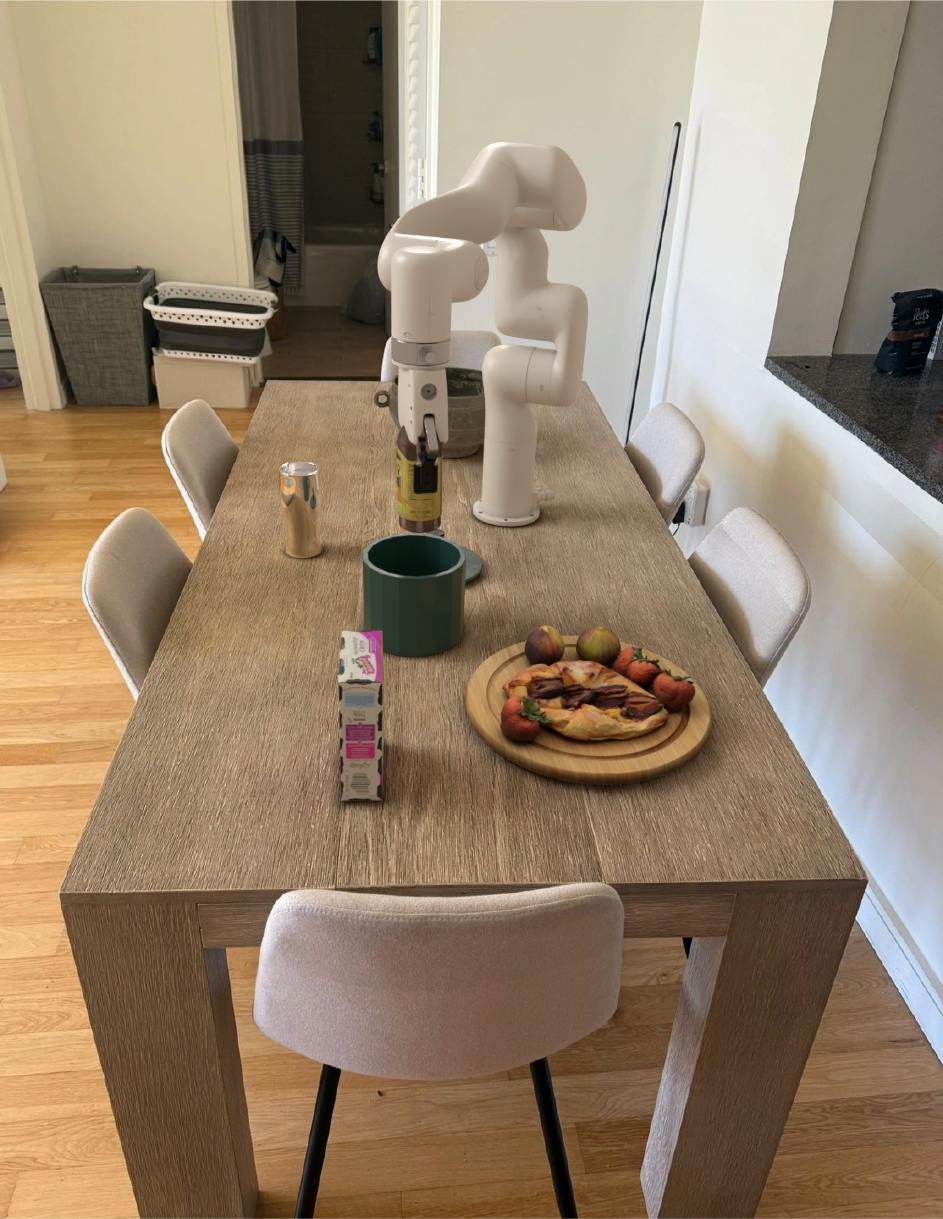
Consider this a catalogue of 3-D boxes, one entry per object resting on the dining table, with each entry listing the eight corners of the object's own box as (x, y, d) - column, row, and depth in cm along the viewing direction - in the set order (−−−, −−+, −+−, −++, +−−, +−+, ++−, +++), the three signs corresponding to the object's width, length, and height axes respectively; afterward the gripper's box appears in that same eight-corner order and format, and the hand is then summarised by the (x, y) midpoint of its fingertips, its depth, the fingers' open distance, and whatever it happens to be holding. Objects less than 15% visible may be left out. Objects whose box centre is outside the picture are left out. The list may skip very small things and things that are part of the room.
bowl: (506, 426, 224) (509, 363, 216) (531, 466, 202) (536, 397, 194) (369, 429, 218) (368, 364, 211) (380, 470, 196) (379, 399, 189)
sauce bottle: (407, 513, 136) (407, 376, 126) (448, 521, 134) (451, 382, 124) (389, 531, 131) (388, 388, 121) (431, 538, 129) (433, 395, 119)
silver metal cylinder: (316, 561, 159) (312, 478, 152) (277, 556, 160) (270, 473, 153) (329, 544, 165) (326, 463, 158) (291, 539, 166) (286, 458, 159)
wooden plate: (545, 822, 106) (550, 764, 102) (424, 677, 130) (424, 626, 126) (762, 747, 119) (775, 693, 115) (615, 629, 143) (622, 580, 139)
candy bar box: (384, 802, 108) (383, 682, 99) (340, 803, 107) (335, 683, 99) (384, 741, 117) (383, 628, 109) (343, 742, 117) (339, 628, 109)
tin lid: (455, 542, 168) (456, 507, 164) (498, 579, 156) (500, 543, 153) (374, 557, 161) (373, 521, 158) (412, 598, 149) (412, 560, 146)
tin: (436, 598, 149) (437, 526, 143) (480, 643, 138) (484, 567, 132) (349, 617, 143) (347, 542, 137) (388, 666, 132) (387, 587, 126)
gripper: (467, 368, 114) (462, 505, 123) (433, 333, 129) (431, 458, 137) (406, 370, 112) (405, 510, 121) (379, 335, 127) (380, 462, 135)
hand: (419, 481), depth 129 cm, fingers closed on sauce bottle, 6 cm apart
